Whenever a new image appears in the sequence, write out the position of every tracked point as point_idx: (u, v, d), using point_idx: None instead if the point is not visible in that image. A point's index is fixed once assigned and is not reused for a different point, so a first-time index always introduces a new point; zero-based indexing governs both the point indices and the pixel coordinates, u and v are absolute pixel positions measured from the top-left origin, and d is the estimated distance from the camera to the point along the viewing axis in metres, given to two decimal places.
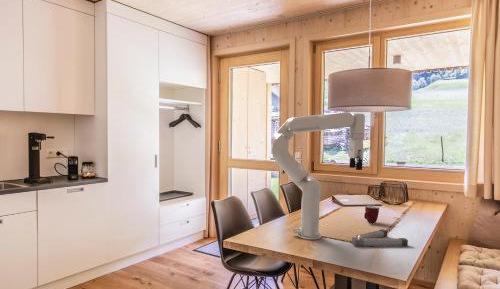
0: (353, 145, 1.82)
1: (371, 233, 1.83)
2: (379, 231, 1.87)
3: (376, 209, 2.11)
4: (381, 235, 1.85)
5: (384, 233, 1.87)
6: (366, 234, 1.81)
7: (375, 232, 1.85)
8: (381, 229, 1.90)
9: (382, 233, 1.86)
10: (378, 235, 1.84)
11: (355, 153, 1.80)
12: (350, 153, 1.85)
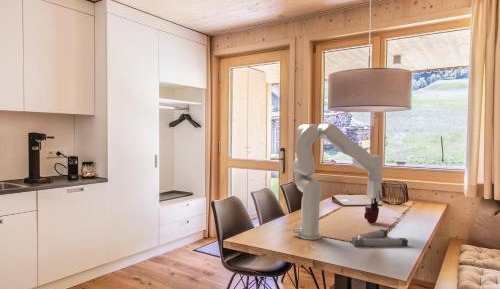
0: (372, 186, 1.90)
1: (371, 233, 1.83)
2: (379, 231, 1.87)
3: None
4: (381, 235, 1.85)
5: (384, 233, 1.87)
6: (366, 234, 1.81)
7: (375, 232, 1.85)
8: (381, 229, 1.90)
9: (382, 233, 1.86)
10: (378, 235, 1.84)
11: (374, 194, 1.88)
12: (369, 193, 1.93)
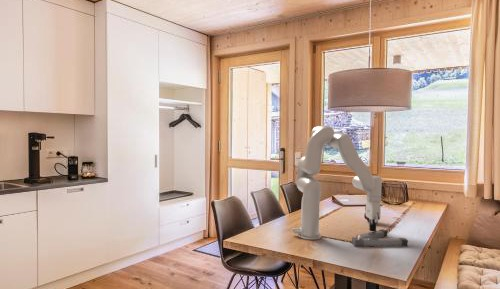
0: (371, 207, 1.90)
1: (371, 233, 1.83)
2: (379, 231, 1.87)
3: None
4: (381, 235, 1.85)
5: (384, 233, 1.87)
6: (366, 234, 1.81)
7: (375, 232, 1.85)
8: (381, 229, 1.90)
9: (382, 233, 1.86)
10: (378, 235, 1.84)
11: (373, 215, 1.88)
12: (367, 213, 1.94)
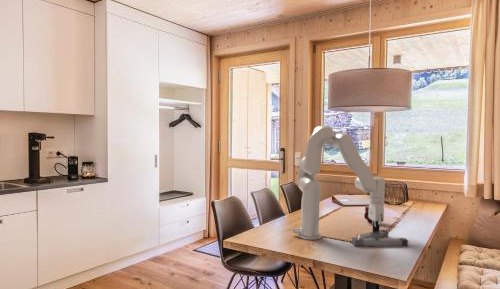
0: (374, 209, 1.86)
1: (371, 233, 1.83)
2: (380, 231, 1.86)
3: None
4: (382, 236, 1.85)
5: (385, 233, 1.86)
6: (366, 234, 1.81)
7: (376, 232, 1.84)
8: (383, 229, 1.89)
9: (383, 233, 1.85)
10: (378, 235, 1.83)
11: (376, 217, 1.84)
12: (370, 215, 1.90)
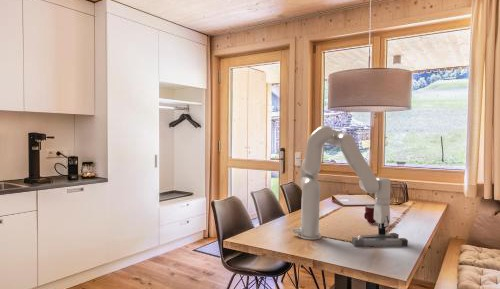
0: (379, 210, 1.80)
1: (377, 235, 1.80)
2: (388, 234, 1.81)
3: None
4: None
5: (394, 237, 1.81)
6: (370, 235, 1.79)
7: (383, 235, 1.81)
8: (393, 233, 1.84)
9: (391, 236, 1.80)
10: (385, 237, 1.79)
11: (382, 219, 1.79)
12: (376, 217, 1.84)
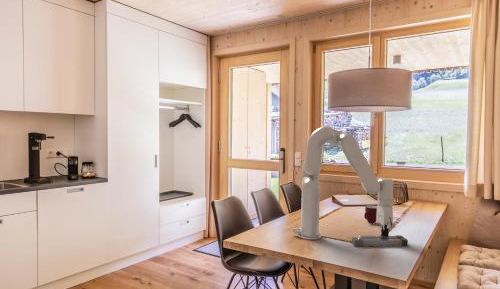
0: (382, 212, 1.77)
1: (380, 236, 1.77)
2: (393, 236, 1.78)
3: (376, 209, 2.11)
4: None
5: None
6: (373, 236, 1.77)
7: (386, 236, 1.78)
8: (398, 235, 1.80)
9: None
10: None
11: (385, 221, 1.75)
12: (379, 219, 1.81)
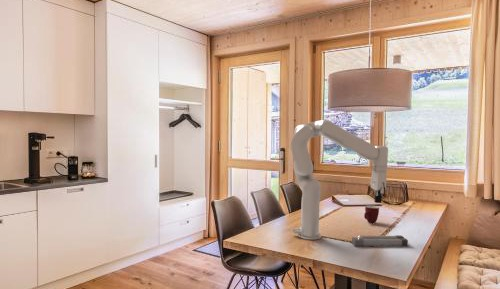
0: (376, 177, 1.83)
1: (380, 236, 1.77)
2: (393, 236, 1.78)
3: (376, 209, 2.11)
4: None
5: None
6: (373, 236, 1.77)
7: (386, 236, 1.78)
8: (398, 235, 1.80)
9: None
10: None
11: (378, 186, 1.81)
12: (373, 185, 1.87)
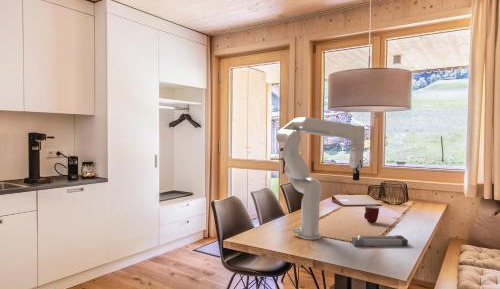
0: (354, 156, 1.92)
1: (380, 236, 1.77)
2: (393, 236, 1.78)
3: (376, 209, 2.11)
4: None
5: None
6: (373, 236, 1.77)
7: (386, 236, 1.78)
8: (398, 235, 1.80)
9: None
10: None
11: (355, 163, 1.90)
12: (351, 163, 1.96)
